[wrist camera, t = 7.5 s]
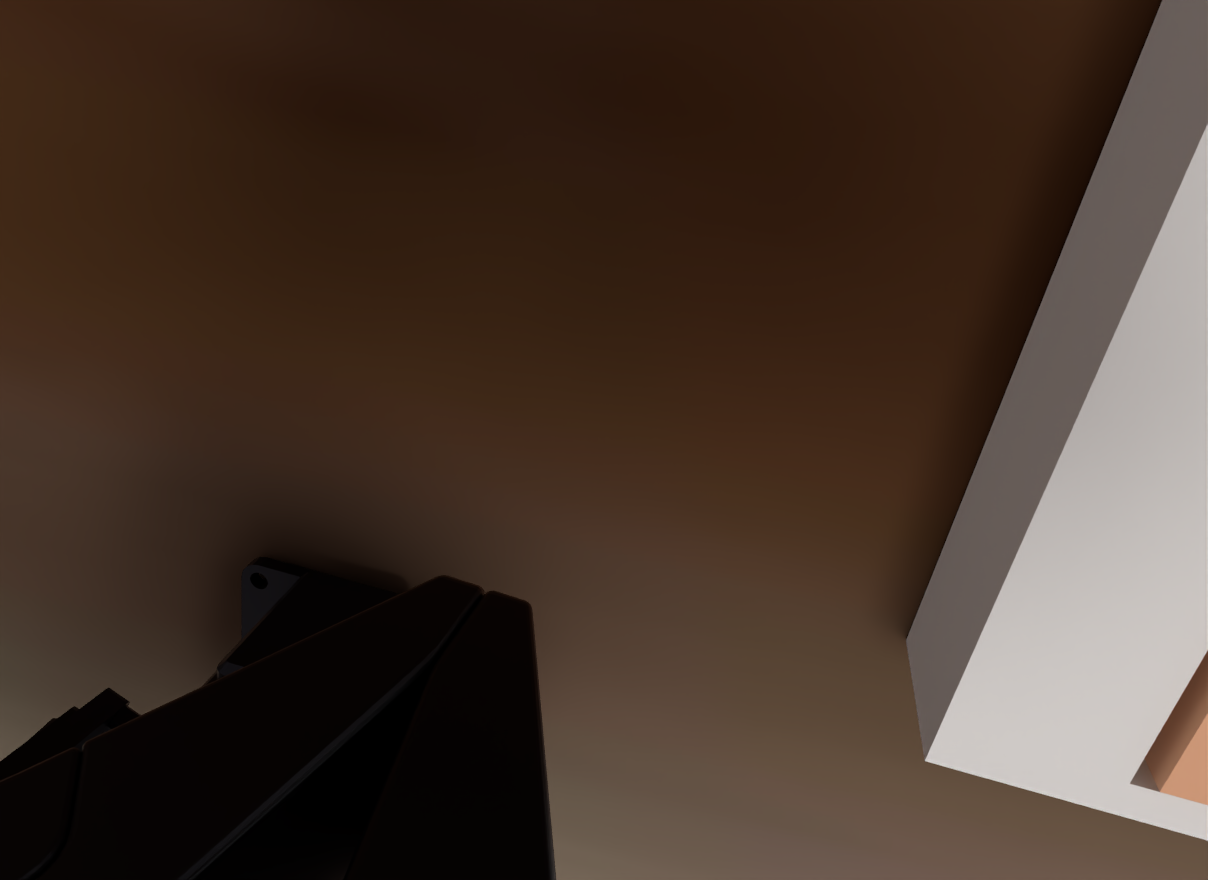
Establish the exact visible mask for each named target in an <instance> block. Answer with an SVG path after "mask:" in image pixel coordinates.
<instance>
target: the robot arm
mask: <svg viewBox="0 0 1208 880" xmlns="http://www.w3.org/2000/svg"><path fill="white" fill-rule="evenodd" d="M259 573H260V574H262V575H264V576H265V578H266V579H267V581H266V580H264V579H262V577H261V576H260V575H259ZM129 703H130V702H129V701H128V700H126V699H125V698H123V697H122V696H120V695H119V694H117V693H116V692H115V691H113V690H112V689H110V688H107V689H106V690H104V691H103V692H102V693H100V694H99V695H98V696H96V697H95V698H94V699H92V700H91V701H90V702H88V703H87V704H86V705H85V706H83V707H82V708H81V709H78V708H77V707H75V706H74V707H72V708H71V709H69V710H68V711H67V712H65V713H64V714H63V715H61V716H60V717H59V718H53V719H51V720H50V721H49V722H48V723H47V724H46V725H45V726H44V727H43V728H41V729H40V730H39V731H38V732H37V733H36V734H35V735H34V736H33V737H31V738H30V739H29V740H28V741H27V742H26V743H24V744H23V745H22V746H20V747H19V748H18V749H16V750H15V751H14V752H12V753H11V754H10V755H8V756H7V757H6V758H4V759H3V760H2V761H0V880H556V872H555V861H554V850H553V838H552V827H551V816H550V804H549V793H548V782H547V771H546V759H545V748H544V737H543V725H542V714H541V703H540V691H539V680H538V669H537V658H536V646H535V635H534V624H533V612H532V607H531V605H530V604H529V603H528V602H527V601H525V600H522V599H518V598H515V597H512V596H509V595H506V594H503V593H500V592H496V591H489V592H487V593H486V594H484V590H483V589H482V588H481V587H480V586H478V585H475V584H472V583H468V582H465V581H462V580H459V579H456V578H453V577H450V576H445V575H442V576H438V577H435V578H433V579H431V580H429V581H426V582H424V583H422V584H420V585H418V586H416V587H414V588H412V589H409V590H407V591H405V592H403V593H401V594H396V593H392V592H389V591H385V590H382V589H378V588H375V587H371V586H367V585H364V584H360V583H357V582H353V581H349V580H346V579H342V578H339V577H335V576H331V575H328V574H324V573H321V572H317V571H313V570H310V569H306V568H303V567H299V566H296V565H292V564H288V563H285V562H281V561H278V560H274V559H270V558H266V557H259V558H256V559H254V560H253V561H252V562H251V563H250V564H249V565H248V566H247V567H246V568H245V569H244V570H243V572H242V640H241V641H240V642H239V643H238V644H237V645H236V646H235V647H234V648H233V649H232V650H231V651H230V652H229V653H228V654H227V656H226V657H225V658H224V659H223V660H222V661H221V662H220V663H219V665H218V667H217V671H216V672H215V673H214V674H213V675H212V676H211V677H210V679H209V680H208V681H207V682H206V683H205V684H204V685H203V686H202V687H201V688H199V689H196V690H194V691H192V692H190V693H188V694H186V695H184V696H182V697H179V698H177V699H175V700H173V701H171V702H169V703H167V704H165V705H162V706H160V707H158V708H156V709H154V710H152V711H150V712H147V713H145V714H143V715H140V714H138V713H137V712H135V711H134V710H132V709H131V708H129V707H128V705H129Z"/></svg>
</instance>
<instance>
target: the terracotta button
mask: <svg viewBox="0 0 1208 880" xmlns="http://www.w3.org/2000/svg"><path fill="white" fill-rule="evenodd" d="M1144 759H1145V761H1146V763H1147V765H1148V767H1149V770H1150V772H1151V774H1152V776H1153V778H1154V780H1155V783H1156V785H1157V787H1158V789H1159V791H1160V792H1162V793H1166V794H1169V795H1173V796H1176V797H1180V798H1184V799H1187V800H1191V801H1194V802H1198V803H1202V804H1205V805H1208V651H1207V652H1206V654H1205V656H1204V657H1203V659H1202V661H1201V663H1200V664H1199V666H1198V668H1197V669H1196V671H1195V673H1194V675H1193V676H1192V678H1191V680H1190V681H1189V683H1188V685H1187V686H1186V688H1185V690H1184V692H1183V693H1182V695H1181V697H1180V698H1179V700H1178V702H1177V704H1176V705H1175V707H1174V709H1173V710H1172V712H1171V714H1170V715H1169V717H1168V719H1167V721H1166V722H1165V724H1164V726H1163V727H1162V729H1161V731H1160V733H1159V734H1158V736H1157V738H1156V739H1155V741H1154V743H1153V744H1152V746H1151V748H1150V750H1149V751H1148V753H1147V755H1146V756H1145V758H1144Z"/></svg>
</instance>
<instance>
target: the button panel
mask: <svg viewBox="0 0 1208 880" xmlns="http://www.w3.org/2000/svg"><path fill="white" fill-rule="evenodd" d="M906 643H907V650H908V656H909V663H910V669H911V675H912V682H913V688H914V695H915V701H916V708H917V714H918V720H919V727H920V733H921V740H922V746H923V753H924V759H925V761H927V762H930V763H934V764H937V765H941V766H944V767H948V768H952V769H955V770H959V771H962V772H966V773H969V774H973V775H977V776H980V777H984V778H987V779H991V780H994V781H998V782H1001V783H1005V784H1009V785H1012V786H1016V787H1019V788H1023V789H1026V790H1030V791H1033V792H1037V793H1041V794H1044V795H1048V796H1051V797H1055V798H1058V799H1062V800H1066V801H1069V802H1073V803H1076V804H1080V805H1083V806H1087V807H1090V808H1094V809H1098V810H1101V811H1105V812H1108V813H1112V814H1115V815H1119V816H1122V817H1126V818H1130V819H1133V820H1137V821H1140V822H1144V823H1147V824H1151V825H1155V826H1158V827H1162V828H1165V829H1169V830H1172V831H1176V832H1179V833H1183V834H1187V835H1190V836H1194V837H1197V838H1201V839H1204V840H1208V805H1205V804H1202V803H1198V802H1194V801H1191V800H1187V799H1184V798H1180V797H1176V796H1173V795H1169V794H1166V793H1162V792H1160V791H1159V789H1158V787H1157V785H1156V783H1155V780H1154V778H1153V776H1152V774H1151V772H1150V770H1149V767H1148V765H1147V763H1146V761H1145V759H1144V758H1145V756H1146V755H1147V753H1148V751H1149V750H1150V748H1151V746H1152V744H1153V743H1154V741H1155V739H1156V738H1157V736H1158V734H1159V733H1160V731H1161V729H1162V727H1163V726H1164V724H1165V722H1166V721H1167V719H1168V717H1169V715H1170V714H1171V712H1172V710H1173V709H1174V707H1175V705H1176V704H1177V702H1178V700H1179V698H1180V697H1181V695H1182V693H1183V692H1184V690H1185V688H1186V686H1187V685H1188V683H1189V681H1190V680H1191V678H1192V676H1193V675H1194V673H1195V671H1196V669H1197V668H1198V666H1199V664H1200V663H1201V661H1202V659H1203V657H1204V656H1205V654H1206V652H1207V651H1208V0H1162V2H1161V4H1160V7H1159V9H1158V12H1157V14H1156V17H1155V19H1154V22H1153V24H1152V27H1151V29H1150V32H1149V34H1148V37H1147V39H1146V42H1145V44H1144V47H1143V49H1142V52H1141V54H1140V57H1139V59H1138V62H1137V64H1136V67H1135V69H1134V72H1133V74H1132V77H1131V79H1130V82H1129V84H1128V87H1127V89H1126V92H1125V94H1124V97H1123V99H1122V102H1121V104H1120V107H1119V109H1118V112H1117V114H1116V117H1115V119H1114V122H1113V124H1112V127H1111V129H1110V132H1109V134H1108V137H1107V139H1106V142H1105V144H1104V147H1103V149H1102V152H1101V154H1100V157H1099V159H1098V162H1097V164H1096V167H1095V169H1094V172H1093V174H1092V177H1091V179H1090V182H1089V184H1088V187H1087V189H1086V192H1085V194H1084V197H1083V199H1082V202H1081V204H1080V207H1079V209H1078V212H1077V214H1076V217H1075V219H1074V222H1073V224H1072V227H1071V229H1070V232H1069V234H1068V237H1067V239H1066V242H1065V244H1064V247H1063V249H1062V252H1061V254H1060V257H1059V259H1058V262H1057V264H1056V267H1055V269H1054V272H1053V274H1052V277H1051V279H1050V282H1049V284H1048V287H1047V289H1046V292H1045V294H1044V297H1043V299H1042V302H1041V304H1040V307H1039V309H1038V312H1037V314H1036V317H1035V319H1034V322H1033V324H1032V327H1031V329H1030V332H1029V334H1028V337H1027V339H1026V342H1025V344H1024V347H1023V349H1022V352H1021V354H1020V357H1019V359H1018V362H1017V364H1016V367H1015V369H1014V372H1013V374H1012V377H1011V379H1010V382H1009V384H1008V387H1007V389H1006V392H1005V394H1004V397H1003V399H1002V402H1001V404H1000V407H999V409H998V412H997V414H996V417H995V419H994V422H993V424H992V427H991V429H990V432H989V434H988V437H987V439H986V442H985V444H984V447H983V449H982V452H981V454H980V457H979V459H978V462H977V464H976V467H975V469H974V472H973V474H972V477H971V479H970V482H969V484H968V487H967V489H966V492H965V494H964V497H963V499H962V502H961V504H960V507H959V509H958V512H957V514H956V517H955V519H954V522H953V524H952V527H951V529H950V532H949V534H948V537H947V539H946V542H945V544H944V547H943V549H942V552H941V554H940V557H939V559H938V562H937V564H936V567H935V569H934V572H933V574H932V577H931V579H930V582H929V584H928V587H927V589H926V592H925V594H924V597H923V599H922V602H921V604H920V607H919V609H918V612H917V614H916V617H915V619H914V622H913V624H912V627H911V629H910V632H909V634H908V637H907V639H906Z"/></svg>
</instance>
